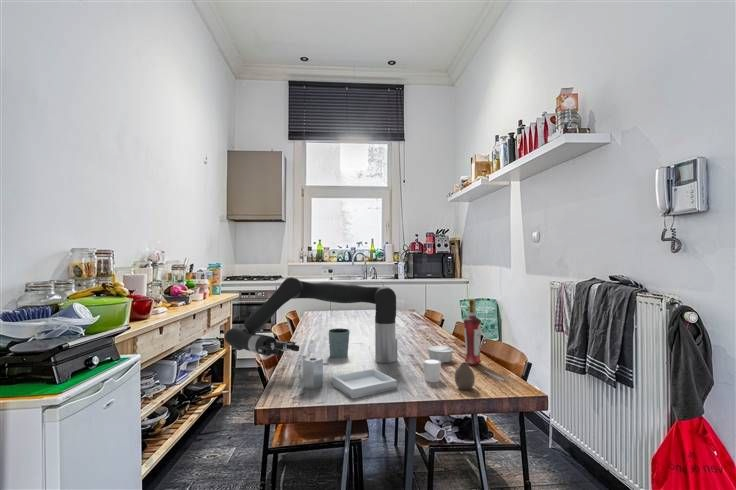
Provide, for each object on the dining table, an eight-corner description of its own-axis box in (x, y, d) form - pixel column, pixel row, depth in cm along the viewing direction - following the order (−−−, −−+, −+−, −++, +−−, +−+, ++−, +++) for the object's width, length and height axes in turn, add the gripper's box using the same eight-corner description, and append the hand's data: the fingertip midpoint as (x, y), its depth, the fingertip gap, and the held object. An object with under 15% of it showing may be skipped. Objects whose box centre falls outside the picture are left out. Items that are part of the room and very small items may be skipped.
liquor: (467, 360, 167) (467, 298, 168) (484, 363, 163) (483, 299, 164) (461, 364, 161) (461, 299, 162) (478, 367, 157) (477, 300, 158)
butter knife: (498, 380, 140) (505, 378, 140) (461, 361, 165) (467, 360, 166) (499, 381, 140) (505, 380, 140) (461, 363, 165) (467, 362, 166)
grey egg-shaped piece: (471, 393, 127) (471, 367, 127) (452, 389, 131) (451, 364, 131) (477, 387, 133) (476, 362, 133) (458, 383, 137) (458, 359, 137)
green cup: (337, 351, 184) (337, 327, 184) (354, 354, 178) (353, 329, 178) (324, 356, 175) (324, 330, 176) (340, 359, 169) (340, 333, 170)
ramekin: (453, 364, 161) (453, 352, 162) (427, 363, 164) (427, 351, 164) (452, 357, 172) (452, 346, 173) (428, 356, 175) (428, 345, 175)
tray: (373, 376, 145) (373, 368, 145) (396, 388, 132) (396, 380, 132) (331, 384, 136) (331, 376, 136) (352, 398, 122) (352, 389, 123)
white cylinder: (430, 384, 136) (430, 364, 137) (419, 378, 142) (419, 360, 143) (445, 381, 140) (444, 362, 140) (433, 375, 146) (433, 357, 146)
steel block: (312, 383, 137) (312, 356, 137) (322, 386, 134) (322, 358, 135) (303, 387, 133) (303, 359, 133) (313, 390, 130) (313, 361, 130)
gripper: (247, 338, 144) (276, 344, 135) (276, 332, 156) (304, 337, 146) (247, 357, 144) (275, 365, 134) (275, 350, 155) (303, 356, 146)
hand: (290, 350), depth 140 cm, fingers open, 8 cm apart
